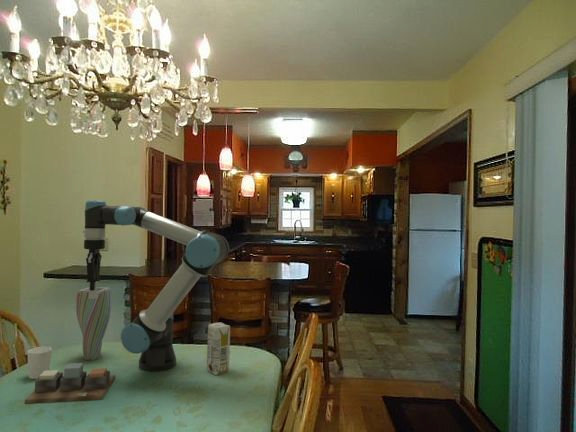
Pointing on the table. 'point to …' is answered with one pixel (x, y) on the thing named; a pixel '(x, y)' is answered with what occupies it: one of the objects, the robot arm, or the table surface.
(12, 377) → the table surface
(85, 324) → the vase
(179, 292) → the robot arm
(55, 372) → the cream key
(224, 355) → the juice carton
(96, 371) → the terracotta key
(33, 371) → the white cup
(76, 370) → the slate key
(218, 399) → the table surface
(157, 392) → the table surface
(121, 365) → the table surface
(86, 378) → the board
